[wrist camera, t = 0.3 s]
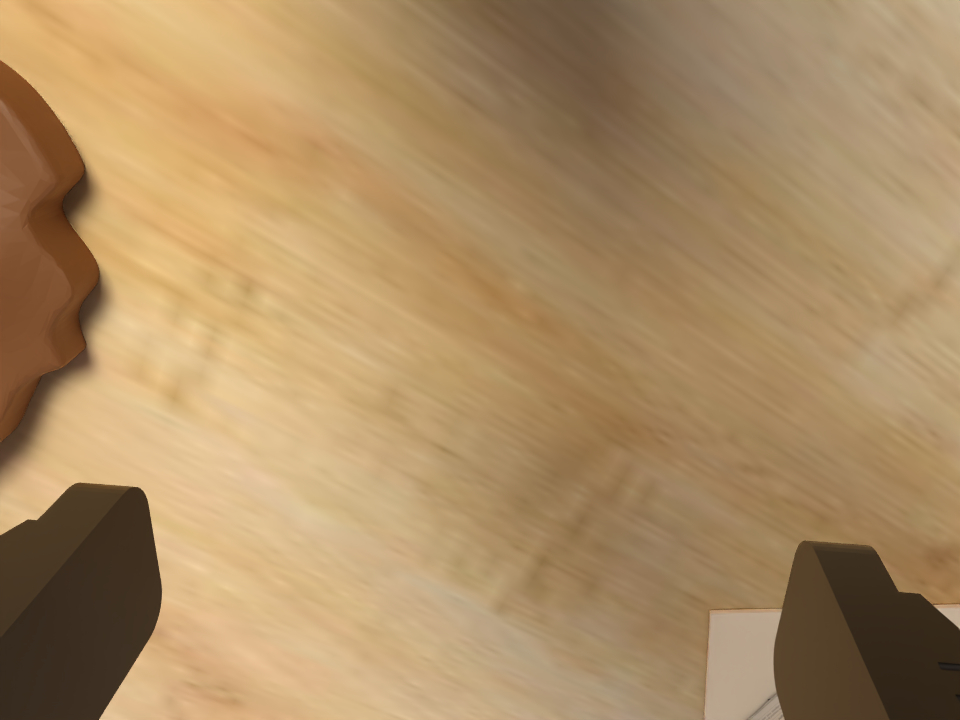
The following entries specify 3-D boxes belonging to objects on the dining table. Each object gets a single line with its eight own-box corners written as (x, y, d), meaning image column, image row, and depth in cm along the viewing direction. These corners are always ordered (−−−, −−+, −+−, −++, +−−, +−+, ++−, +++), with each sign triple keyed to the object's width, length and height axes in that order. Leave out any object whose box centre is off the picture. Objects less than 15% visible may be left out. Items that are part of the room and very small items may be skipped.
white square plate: (709, 610, 34) (711, 614, 34) (964, 604, 33) (968, 608, 33) (698, 813, 39) (699, 817, 38) (920, 810, 38) (922, 815, 38)
